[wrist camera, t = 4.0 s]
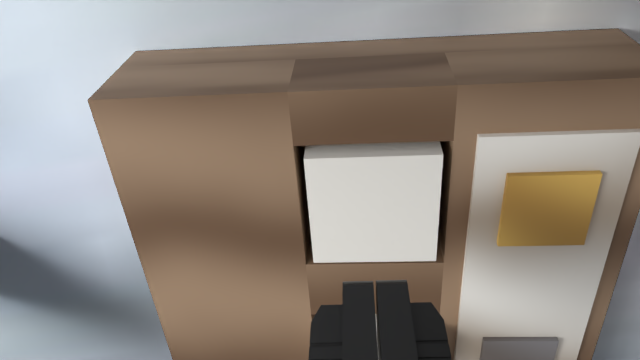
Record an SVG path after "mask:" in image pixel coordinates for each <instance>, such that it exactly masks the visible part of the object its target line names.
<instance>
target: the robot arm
mask: <svg viewBox="0 0 640 360" xmlns="http://www.w3.org/2000/svg"><path fill="white" fill-rule="evenodd" d="M376 319H377V331H376ZM377 345H378V347H377ZM308 360H452V359H451V352H450V347H449V344H448V337H447V332H446V327H445V322H444V319H443V318H442V316H441V315H440V314H439V312H438V311H437V309H436V308H435V307H434V305H433V304H432V303H431V302H415V303H410V297H409V290H408V283H407V280H376V316H375V300H374V285H373V281H345V282H343V289H342V304H341V305H321V306H320V307H319V309H318V311H317V313H316V315H315V316H314V318H313V320H312V322H311V328H310V347H309V359H308Z"/></svg>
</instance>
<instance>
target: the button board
mask: <svg viewBox="0 0 640 360" xmlns="http://www.w3.org/2000/svg"><path fill="white" fill-rule="evenodd" d="M88 103H89V106H90V109H91V112H92V115H93V118H94V121H95V124H96V127H97V130H98V133H99V136H100V139H101V142H102V145H103V149H104V152H105V155H106V158H107V161H108V164H109V167H110V170H111V173H112V176H113V179H114V182H115V185H116V188H117V191H118V194H119V197H120V200H121V203H122V206H123V209H124V212H125V216H126V219H127V222H128V225H129V228H130V231H131V234H132V237H133V240H134V243H135V246H136V249H137V252H138V255H139V258H140V261H141V264H142V267H143V270H144V273H145V276H146V280H147V283H148V286H149V289H150V292H151V295H152V298H153V301H154V304H155V307H156V310H157V313H158V316H159V319H160V322H161V325H162V328H163V331H164V334H165V337H166V340H167V343H168V347H169V350H170V353H171V356H172V359H173V360H308V359H309V347H310V328H311V322H312V320H313V318H314V316H315V315H316V313H317V311H318V309H319V307H320V306H321V305H341V304H342V289H343V282H345V281H373V285H374V300H375V314H376V280H407V283H408V290H409V297H410V303H415V302H431V303H432V304H433V305H434V307H435V308H436V309H437V311H438V312H439V314H440V315H441V316H442V318H443V319H444V322H445V327H446V332H447V337H448V344H449V347H450V352H451V359H452V360H592V356H593V353H594V350H595V347H596V344H597V341H598V338H599V334H600V331H601V328H602V325H603V322H604V319H605V316H606V312H607V309H608V306H609V303H610V300H611V297H612V294H613V291H614V287H615V284H616V281H617V278H618V275H619V272H620V269H621V265H622V262H623V259H624V256H625V253H626V250H627V247H628V243H629V240H630V237H631V234H632V231H633V228H634V225H635V222H636V218H637V215H638V212H639V209H640V44H638V43H637V42H636V41H634V40H633V39H632V38H630V37H629V36H628V35H626V34H625V33H624V32H622V31H621V30H620V29H618V28H617V29H596V30H574V31H553V32H532V33H511V34H490V35H469V36H448V37H426V38H405V39H384V40H363V41H342V42H321V43H299V44H278V45H257V46H236V47H215V48H194V49H173V50H151V51H135V53H134V54H133V55H132V56H131V57H130V58H129V59H128V60H127V61H126V62H125V63H124V64H123V65H122V66H121V67H120V68H119V69H118V70H117V71H116V72H115V73H114V74H113V75H112V76H111V77H110V78H109V79H108V80H107V81H106V82H105V83H104V84H103V85H102V86H101V87H100V88H99V89H98V90H97V91H96V92H95V93H94V94H93V95H92V96H91V97H90V98H89V99H88ZM435 141H440V144H441V148H442V152H443V168H442V182H441V197H440V212H439V226H438V241H437V255H436V261H404V262H332V263H314V262H313V252H312V242H311V231H310V221H309V211H308V200H307V190H306V179H305V169H304V153H305V146H309V145H341V144H372V143H404V142H435Z"/></svg>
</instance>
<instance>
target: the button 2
mask: <svg viewBox="0 0 640 360" xmlns="http://www.w3.org/2000/svg"><path fill="white" fill-rule="evenodd" d="M442 168H443V152H442V148H441V144H440V141H435V142H404V143H372V144H341V145H309V146H305V153H304V169H305V179H306V190H307V200H308V211H309V221H310V231H311V242H312V252H313V262H314V263H332V262H404V261H436V255H437V241H438V226H439V212H440V197H441V182H442Z"/></svg>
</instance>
